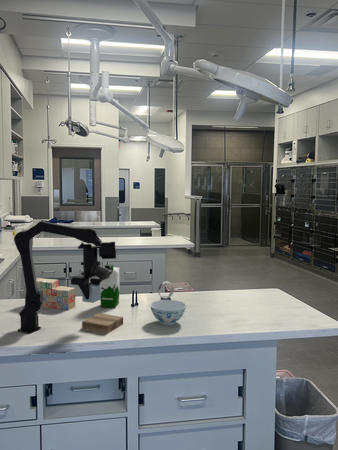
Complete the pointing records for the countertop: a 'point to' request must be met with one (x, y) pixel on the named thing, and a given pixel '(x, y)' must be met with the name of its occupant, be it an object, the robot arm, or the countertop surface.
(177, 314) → the chinaware
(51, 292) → the stack of blocks
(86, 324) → the walnut base
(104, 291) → the milk carton
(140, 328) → the countertop surface
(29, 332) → the robot arm
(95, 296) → the grey block
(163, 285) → the watch
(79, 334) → the countertop surface
